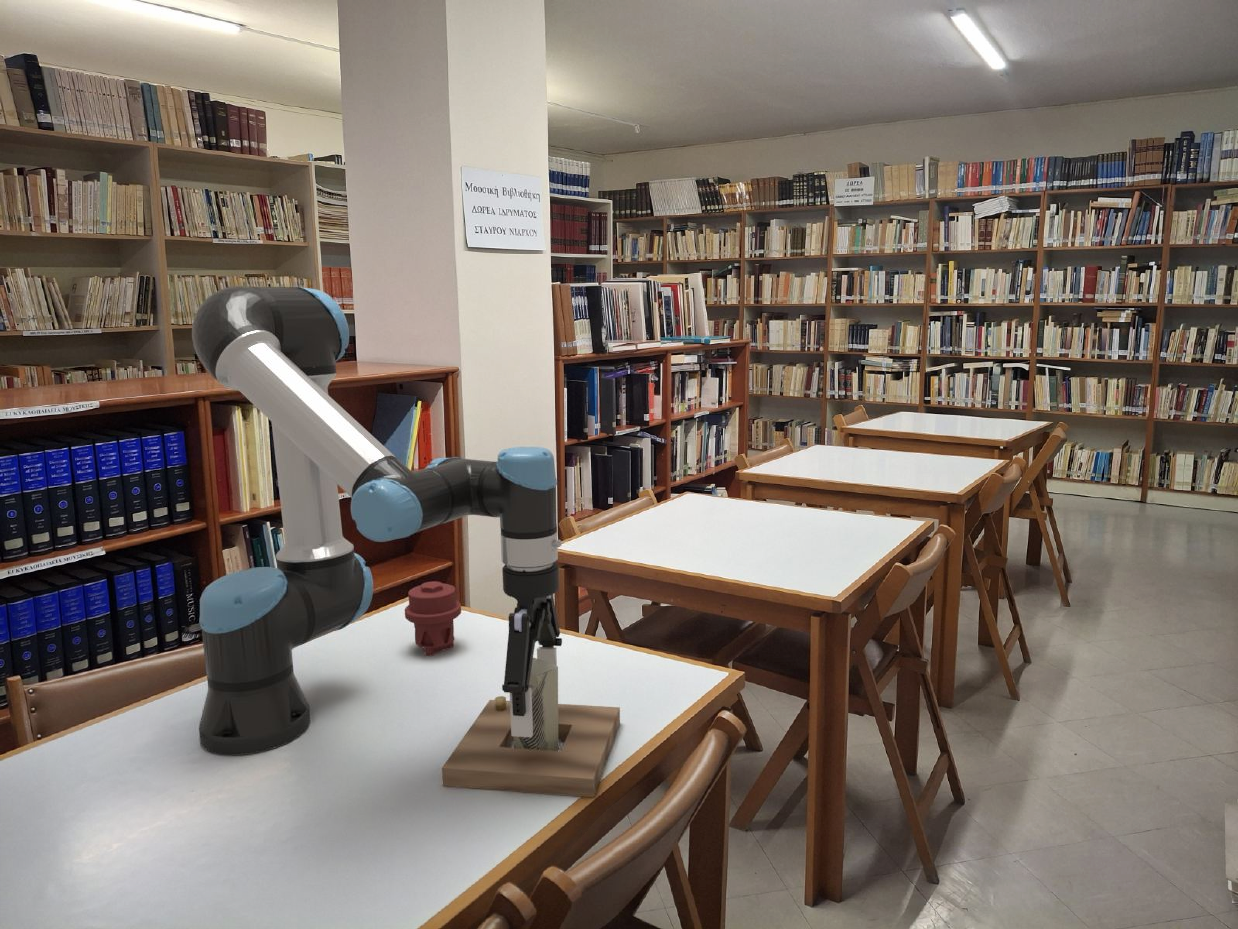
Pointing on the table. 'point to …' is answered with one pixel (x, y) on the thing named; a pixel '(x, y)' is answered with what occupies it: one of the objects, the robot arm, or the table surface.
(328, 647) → the table surface
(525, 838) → the table surface
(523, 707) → the robot arm
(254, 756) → the table surface
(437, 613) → the mechanical component
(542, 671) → the box
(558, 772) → the socket board
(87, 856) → the table surface
